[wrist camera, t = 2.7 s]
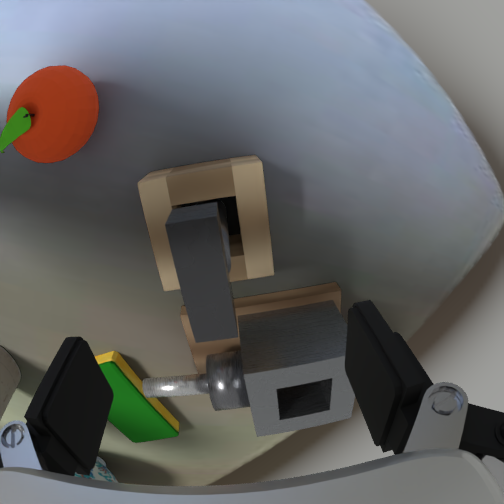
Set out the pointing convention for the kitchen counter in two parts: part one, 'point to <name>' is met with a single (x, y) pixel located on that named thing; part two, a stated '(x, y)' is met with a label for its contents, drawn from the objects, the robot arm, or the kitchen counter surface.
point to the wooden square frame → (205, 188)
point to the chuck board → (255, 306)
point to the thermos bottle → (7, 379)
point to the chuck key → (204, 268)
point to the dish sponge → (134, 403)
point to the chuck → (276, 370)
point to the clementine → (51, 114)
